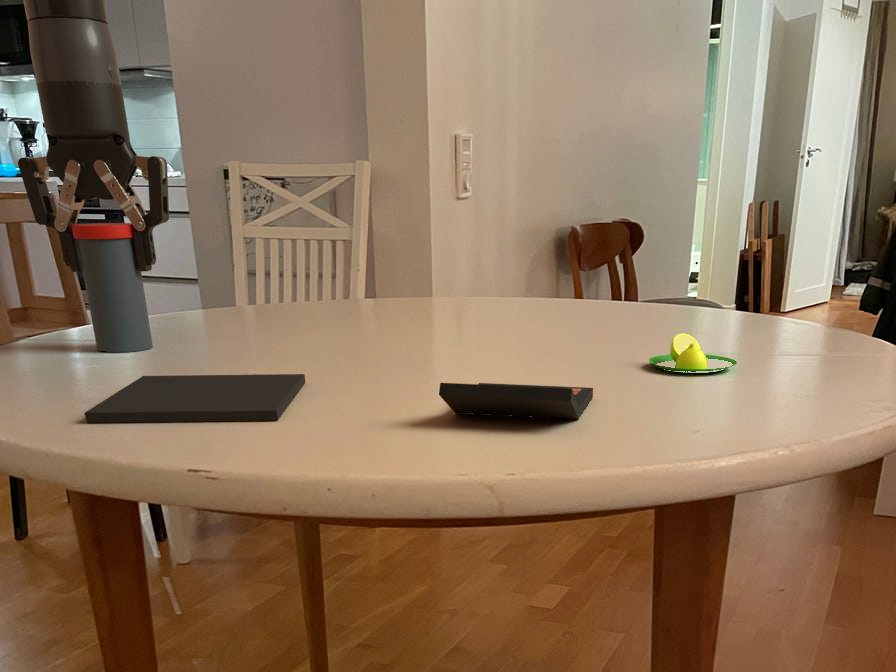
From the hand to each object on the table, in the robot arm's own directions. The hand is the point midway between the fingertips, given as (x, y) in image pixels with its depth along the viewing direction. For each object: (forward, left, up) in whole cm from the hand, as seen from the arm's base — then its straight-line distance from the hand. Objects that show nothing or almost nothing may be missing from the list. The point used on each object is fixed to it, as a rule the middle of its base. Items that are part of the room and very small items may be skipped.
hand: (112, 270), depth 94 cm
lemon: (+57, -15, -8) cm, 59 cm away
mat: (+15, -27, -8) cm, 32 cm away
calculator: (+40, -32, -8) cm, 52 cm away
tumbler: (0, 0, -8) cm, 8 cm away
